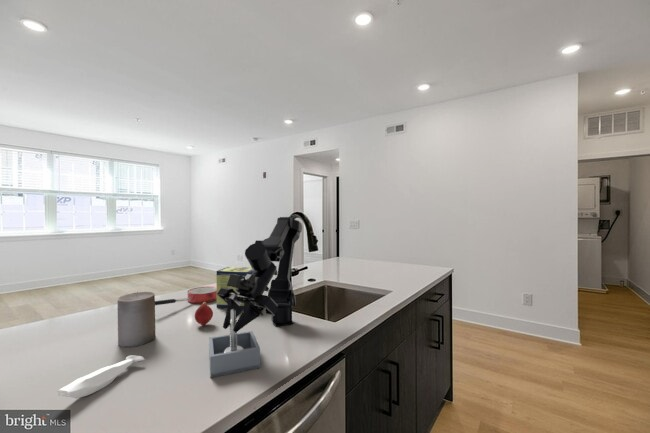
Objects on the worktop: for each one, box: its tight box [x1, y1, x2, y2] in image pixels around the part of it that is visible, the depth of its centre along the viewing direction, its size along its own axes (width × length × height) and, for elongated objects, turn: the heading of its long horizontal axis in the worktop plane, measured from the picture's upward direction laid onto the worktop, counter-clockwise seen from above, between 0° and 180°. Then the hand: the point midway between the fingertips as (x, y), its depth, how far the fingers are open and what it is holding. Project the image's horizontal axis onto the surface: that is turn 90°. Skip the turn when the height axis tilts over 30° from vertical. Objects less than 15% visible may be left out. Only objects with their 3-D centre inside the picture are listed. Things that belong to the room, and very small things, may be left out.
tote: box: [208, 330, 261, 379], centre depth 76 cm, size 12×12×5 cm
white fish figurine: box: [56, 354, 146, 399], centre depth 65 cm, size 6×18×4 cm, turn 170°
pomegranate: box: [194, 302, 214, 327], centre depth 100 cm, size 6×6×8 cm
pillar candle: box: [116, 291, 156, 348], centre depth 88 cm, size 10×10×15 cm
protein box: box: [216, 266, 254, 310], centre depth 123 cm, size 10×16×16 cm
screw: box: [224, 309, 243, 353], centre depth 76 cm, size 13×5×5 cm
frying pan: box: [155, 286, 217, 306], centre depth 122 cm, size 32×13×6 cm, turn 166°
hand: (229, 329), depth 74 cm, fingers open, 4 cm apart
